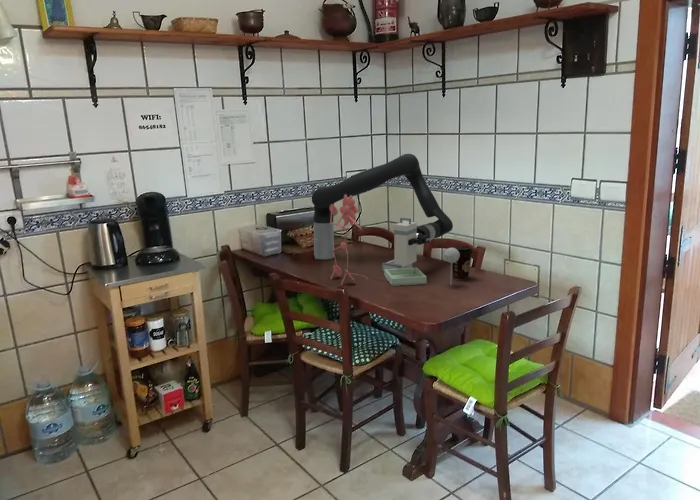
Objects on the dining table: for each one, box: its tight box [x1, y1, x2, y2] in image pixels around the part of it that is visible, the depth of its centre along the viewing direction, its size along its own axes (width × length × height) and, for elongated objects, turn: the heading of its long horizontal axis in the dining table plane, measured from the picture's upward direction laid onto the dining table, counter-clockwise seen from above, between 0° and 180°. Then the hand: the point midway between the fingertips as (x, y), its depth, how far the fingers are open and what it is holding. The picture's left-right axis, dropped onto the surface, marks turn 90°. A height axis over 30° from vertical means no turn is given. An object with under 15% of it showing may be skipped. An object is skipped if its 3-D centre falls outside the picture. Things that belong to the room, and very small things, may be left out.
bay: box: [381, 259, 413, 272], centre depth 236 cm, size 10×9×4 cm
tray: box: [383, 267, 428, 287], centre depth 221 cm, size 14×14×3 cm
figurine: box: [329, 194, 369, 286], centre depth 219 cm, size 15×26×35 cm, turn 29°
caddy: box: [393, 217, 418, 266], centre depth 218 cm, size 8×6×18 cm
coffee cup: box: [452, 245, 474, 281], centre depth 222 cm, size 9×8×13 cm
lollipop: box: [443, 247, 460, 286], centre depth 213 cm, size 6×6×15 cm
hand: (402, 242), depth 216 cm, fingers closed on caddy, 5 cm apart
